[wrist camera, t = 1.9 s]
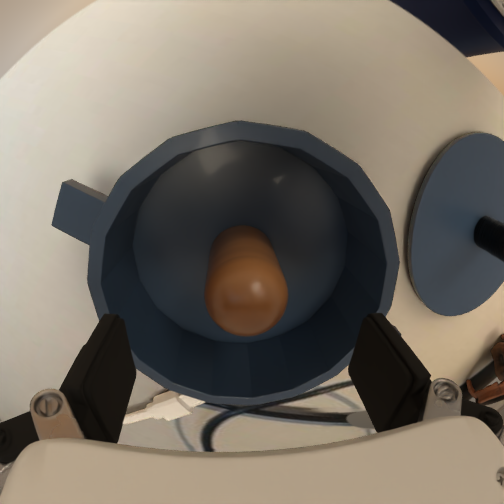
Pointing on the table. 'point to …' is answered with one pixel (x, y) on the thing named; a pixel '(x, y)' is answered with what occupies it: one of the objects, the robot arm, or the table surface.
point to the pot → (198, 251)
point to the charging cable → (165, 407)
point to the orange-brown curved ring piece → (495, 392)
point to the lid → (459, 226)
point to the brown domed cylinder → (244, 282)
